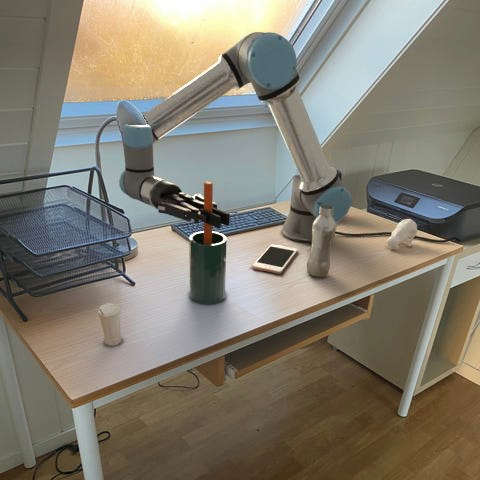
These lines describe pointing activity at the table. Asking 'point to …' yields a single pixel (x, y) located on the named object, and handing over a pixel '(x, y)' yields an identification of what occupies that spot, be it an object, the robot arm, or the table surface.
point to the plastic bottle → (321, 242)
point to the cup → (207, 268)
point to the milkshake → (110, 323)
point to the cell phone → (274, 259)
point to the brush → (208, 206)
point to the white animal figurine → (402, 234)
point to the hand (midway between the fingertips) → (223, 221)
